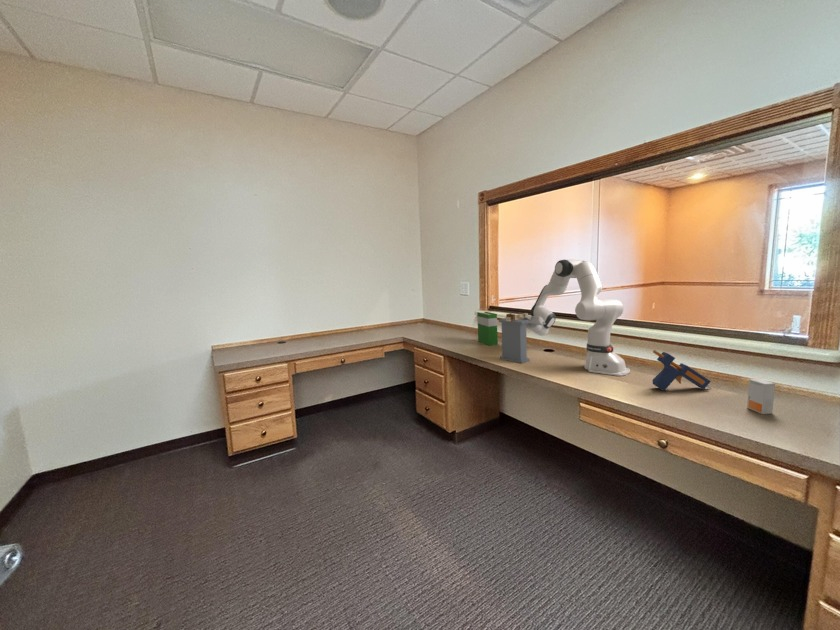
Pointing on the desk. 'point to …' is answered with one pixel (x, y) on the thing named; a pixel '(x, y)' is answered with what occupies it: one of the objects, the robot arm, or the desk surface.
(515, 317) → the marking gauge
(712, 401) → the desk surface
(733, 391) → the desk surface
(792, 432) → the desk surface
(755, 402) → the skincare box
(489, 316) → the green white box
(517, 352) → the stand
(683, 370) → the glue gun
